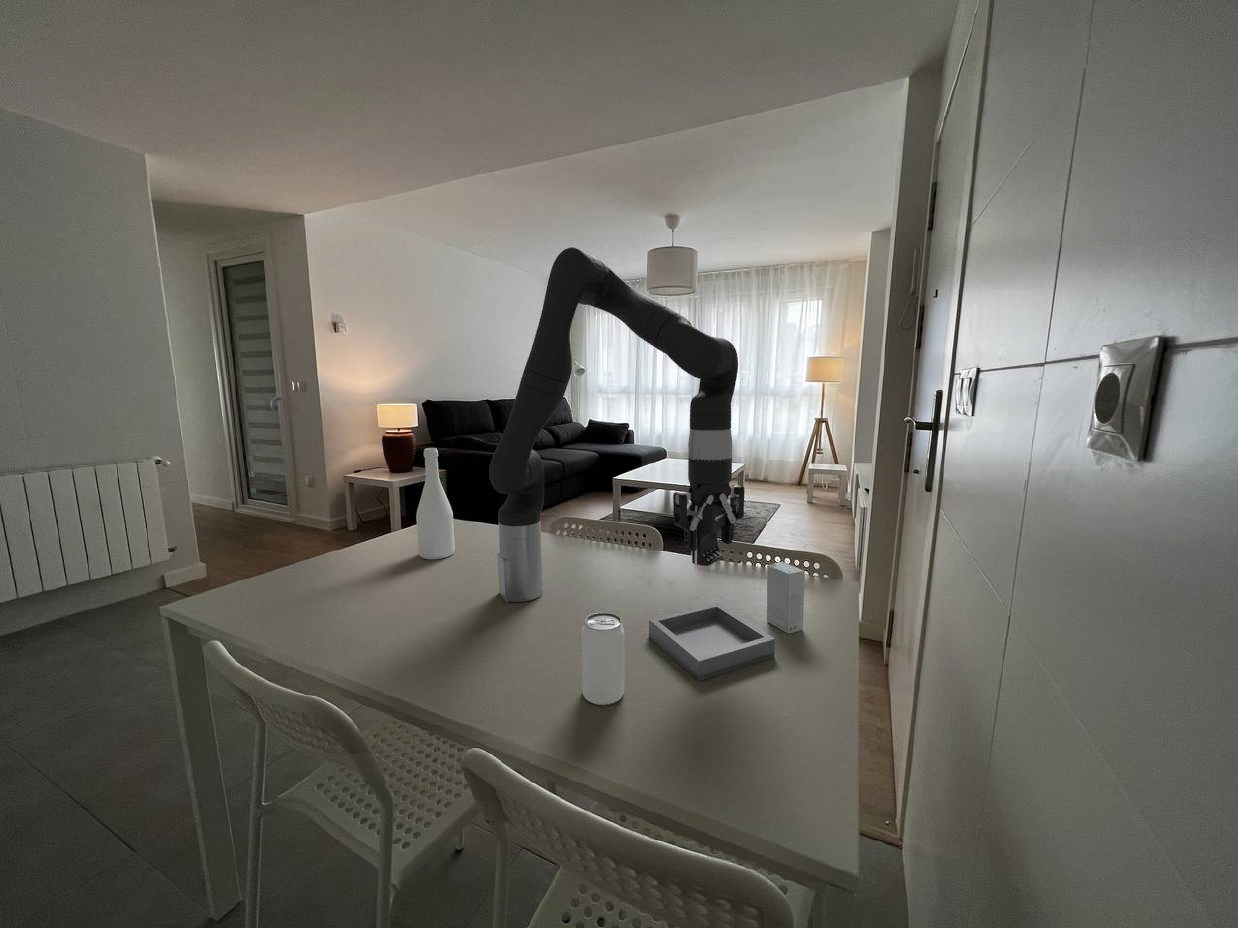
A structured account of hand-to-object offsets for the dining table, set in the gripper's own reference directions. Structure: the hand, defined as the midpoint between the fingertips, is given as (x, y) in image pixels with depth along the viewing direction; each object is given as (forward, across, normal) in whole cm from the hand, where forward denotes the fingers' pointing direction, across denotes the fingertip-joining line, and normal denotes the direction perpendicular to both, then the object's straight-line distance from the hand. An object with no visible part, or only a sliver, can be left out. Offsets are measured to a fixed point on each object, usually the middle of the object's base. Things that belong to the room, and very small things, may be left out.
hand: (709, 546), depth 89 cm
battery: (+3, 0, 0) cm, 3 cm away
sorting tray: (+19, +1, +1) cm, 19 cm away
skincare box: (+19, -17, +1) cm, 26 cm away
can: (+19, +24, +5) cm, 30 cm away
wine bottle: (+17, +38, -74) cm, 85 cm away
